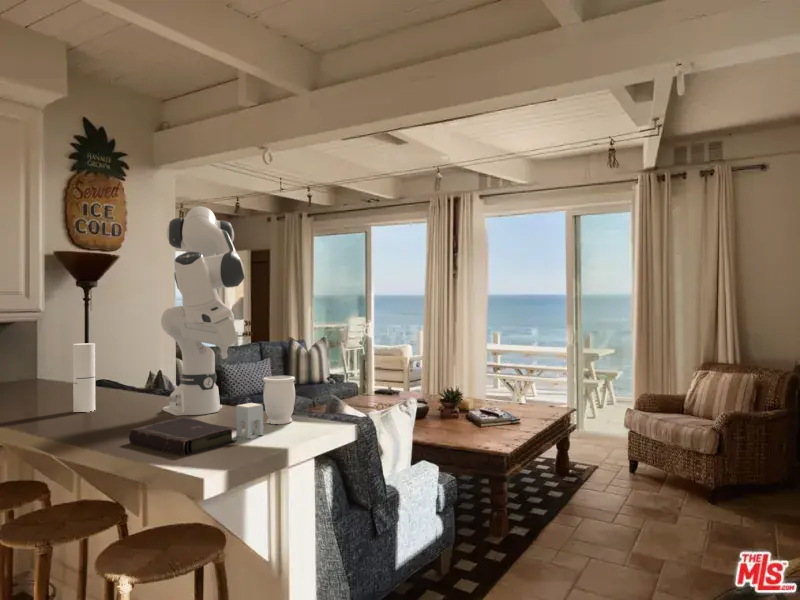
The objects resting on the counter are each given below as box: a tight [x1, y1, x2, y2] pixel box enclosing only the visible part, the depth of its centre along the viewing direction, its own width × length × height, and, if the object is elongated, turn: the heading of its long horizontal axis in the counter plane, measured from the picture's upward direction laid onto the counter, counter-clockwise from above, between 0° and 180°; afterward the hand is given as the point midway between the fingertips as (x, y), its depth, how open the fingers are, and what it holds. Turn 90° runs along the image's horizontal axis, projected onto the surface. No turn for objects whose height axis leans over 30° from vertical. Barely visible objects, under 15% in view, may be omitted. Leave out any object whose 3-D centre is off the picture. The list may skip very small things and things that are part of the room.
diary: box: [128, 417, 238, 457], centre depth 162 cm, size 19×25×5 cm
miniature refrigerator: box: [72, 342, 96, 413], centre depth 210 cm, size 7×7×25 cm
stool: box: [235, 402, 264, 439], centre depth 169 cm, size 6×6×9 cm
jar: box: [262, 375, 296, 425], centre depth 188 cm, size 11×10×15 cm
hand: (213, 355), depth 161 cm, fingers open, 8 cm apart
